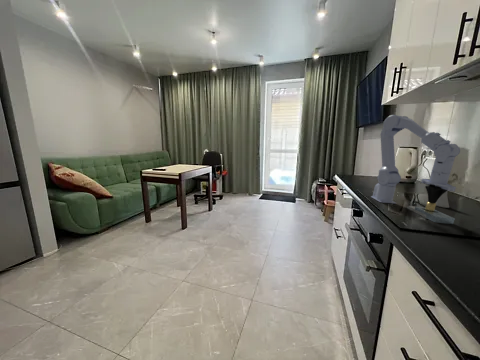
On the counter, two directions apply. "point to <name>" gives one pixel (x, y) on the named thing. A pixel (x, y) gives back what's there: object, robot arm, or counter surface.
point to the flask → (443, 201)
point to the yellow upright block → (430, 207)
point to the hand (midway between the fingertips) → (431, 202)
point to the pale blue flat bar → (432, 215)
